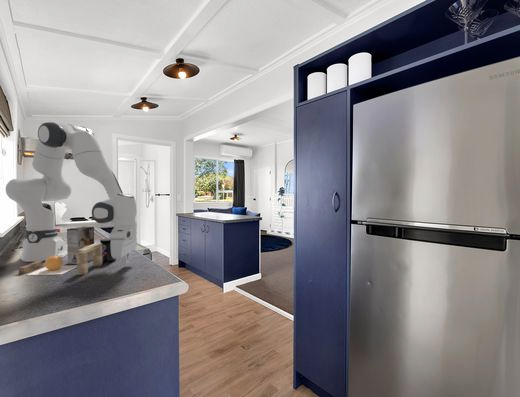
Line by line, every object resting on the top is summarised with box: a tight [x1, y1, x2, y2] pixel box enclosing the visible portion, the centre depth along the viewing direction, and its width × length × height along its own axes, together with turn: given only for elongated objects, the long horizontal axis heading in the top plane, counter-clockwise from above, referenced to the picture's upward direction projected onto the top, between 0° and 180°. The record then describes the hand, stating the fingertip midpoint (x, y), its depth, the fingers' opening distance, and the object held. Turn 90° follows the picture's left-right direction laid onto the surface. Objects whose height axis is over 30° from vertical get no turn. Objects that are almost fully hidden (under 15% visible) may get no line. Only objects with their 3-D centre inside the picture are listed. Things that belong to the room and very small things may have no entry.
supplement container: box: [99, 237, 117, 264], centre depth 130 cm, size 7×7×10 cm
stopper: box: [18, 261, 44, 275], centre depth 114 cm, size 11×2×2 cm, turn 7°
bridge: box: [76, 242, 103, 276], centre depth 116 cm, size 3×15×10 cm, turn 7°
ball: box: [44, 256, 63, 270], centre depth 114 cm, size 6×6×6 cm
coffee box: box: [66, 226, 95, 265], centre depth 128 cm, size 9×6×16 cm
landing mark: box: [26, 264, 77, 276], centre depth 114 cm, size 13×13×1 cm
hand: (125, 263), depth 118 cm, fingers closed
